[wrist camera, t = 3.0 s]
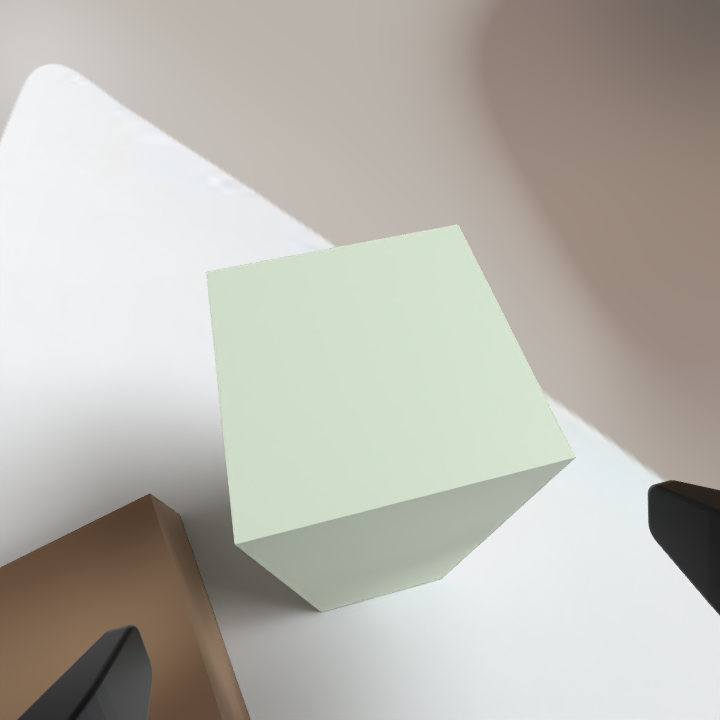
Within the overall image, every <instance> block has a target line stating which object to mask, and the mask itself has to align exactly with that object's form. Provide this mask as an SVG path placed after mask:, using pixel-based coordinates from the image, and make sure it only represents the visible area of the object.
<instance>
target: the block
mask: <svg viewBox="0 0 720 720" xmlns="http://www.w3.org/2000/svg"><path fill="white" fill-rule="evenodd" d="M206 274H207V284H208V293H209V303H210V313H211V322H212V332H213V342H214V351H215V361H216V371H217V380H218V390H219V399H220V409H221V419H222V428H223V438H224V448H225V457H226V467H227V477H228V486H229V496H230V505H231V515H232V525H233V534H234V544H235V545H236V546H237V547H238V548H240V549H241V550H242V551H243V552H245V553H246V554H247V555H249V556H250V557H251V558H252V559H254V560H255V561H256V562H257V563H259V564H260V565H261V566H263V567H264V568H265V569H266V570H268V571H269V572H270V573H272V574H273V575H274V576H275V577H277V578H278V579H279V580H281V581H282V582H283V583H284V584H286V585H287V586H288V587H289V588H291V589H292V590H293V591H295V592H296V593H297V594H298V595H300V596H301V597H302V598H304V599H305V600H306V601H307V602H309V603H310V604H311V605H313V606H314V607H315V608H316V609H318V610H319V611H320V612H325V611H328V610H332V609H335V608H339V607H342V606H346V605H350V604H353V603H357V602H360V601H364V600H368V599H371V598H375V597H378V596H382V595H386V594H389V593H393V592H396V591H400V590H404V589H407V588H411V587H414V586H418V585H422V584H425V583H429V582H432V581H436V580H440V579H442V578H443V577H444V576H445V575H447V574H448V573H449V572H450V571H451V570H452V569H453V568H454V567H455V566H456V565H458V564H459V563H460V562H461V561H462V560H463V559H464V558H465V557H466V556H467V555H469V554H470V553H471V552H472V551H473V550H474V549H475V548H476V547H477V546H478V545H480V544H481V543H482V542H483V541H484V540H485V539H486V538H487V537H488V536H490V535H491V534H492V533H493V532H494V531H495V530H496V529H497V528H498V527H499V526H501V525H502V524H503V523H504V522H505V521H506V520H507V519H508V518H509V517H510V516H512V515H513V514H514V513H515V512H516V511H517V510H518V509H519V508H520V507H521V506H523V505H524V504H525V503H526V502H527V501H528V500H529V499H530V498H531V497H532V496H534V495H535V494H536V493H537V492H538V491H539V490H540V489H541V488H542V487H544V486H545V485H546V484H547V483H548V482H549V481H550V480H551V479H552V478H553V477H555V476H556V475H557V474H558V473H559V472H560V471H561V470H562V469H563V468H564V467H566V466H567V465H568V464H569V463H570V462H571V461H572V460H573V459H574V458H575V455H574V453H573V451H572V449H571V447H570V445H569V443H568V441H567V439H566V437H565V435H564V433H563V431H562V429H561V427H560V426H559V424H558V422H557V420H556V418H555V416H554V414H553V412H552V410H551V408H550V406H549V404H548V402H547V400H546V398H545V396H544V394H543V392H542V390H541V388H540V386H539V384H538V382H537V380H536V378H535V376H534V374H533V372H532V370H531V368H530V366H529V364H528V362H527V360H526V358H525V356H524V354H523V352H522V350H521V348H520V346H519V344H518V342H517V340H516V338H515V336H514V334H513V332H512V331H511V328H510V326H509V324H508V323H507V321H506V319H505V316H504V314H503V313H502V311H501V309H500V307H499V305H498V303H497V301H496V299H495V297H494V295H493V293H492V291H491V289H490V287H489V285H488V283H487V281H486V279H485V277H484V275H483V273H482V271H481V269H480V267H479V265H478V263H477V261H476V259H475V257H474V255H473V253H472V251H471V249H470V247H469V245H468V243H467V241H466V239H465V238H464V235H463V233H462V231H461V229H460V227H459V225H452V226H447V227H442V228H436V229H431V230H426V231H420V232H415V233H410V234H405V235H400V236H394V237H389V238H384V239H378V240H373V241H368V242H362V243H357V244H351V245H346V246H341V247H335V248H330V249H325V250H319V251H314V252H309V253H303V254H298V255H293V256H288V257H282V258H277V259H272V260H266V261H261V262H256V263H250V264H245V265H240V266H234V267H229V268H224V269H218V270H213V271H208V272H206Z"/></svg>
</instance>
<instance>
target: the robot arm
mask: <svg viewBox="0 0 720 720" xmlns="http://www.w3.org/2000/svg"><path fill="white" fill-rule="evenodd" d="M648 523H649V529H650V532H651V534H652V536H653V537H654V539H655V540H656V542H657V543H658V544H659V545H660V546H661V547H662V549H663V550H664V551H665V552H666V553H667V555H668V556H669V557H670V558H671V559H672V560H673V562H674V563H675V564H676V565H677V566H678V567H679V569H680V570H681V571H682V572H683V573H684V574H685V576H686V577H687V578H688V579H689V580H690V582H691V583H692V584H693V585H694V586H695V587H696V589H697V590H698V591H699V592H700V593H701V594H702V596H703V597H704V598H705V599H706V600H707V602H708V603H709V604H710V605H711V606H712V607H713V608H714V609H715V610H716V612H717V613H718V614H719V615H720V490H716V489H711V488H707V487H702V486H697V485H693V484H689V483H684V482H679V481H675V480H669V481H665V482H662V483H658V484H654V485H652V486H651V487H650V488H649V490H648ZM152 679H153V673H152V665H151V662H150V659H149V656H148V654H147V651H146V648H145V645H144V643H143V640H142V637H141V635H140V632H139V630H138V628H137V627H136V626H135V625H132V624H130V625H126V626H122V627H118V628H115V629H111V630H108V631H107V632H105V633H104V634H103V635H102V636H101V637H100V638H99V639H98V640H97V641H96V642H95V643H94V644H93V645H92V646H91V647H90V648H89V649H88V650H87V651H86V652H85V653H84V654H83V655H82V656H81V657H80V658H79V659H78V660H77V661H76V662H75V663H74V664H73V665H71V666H70V667H69V668H68V669H67V670H66V671H65V672H64V673H63V674H62V675H61V676H60V677H59V678H58V679H57V680H56V681H55V682H54V683H53V684H52V685H51V686H50V687H49V688H48V689H47V690H46V691H45V692H44V693H43V694H42V695H41V696H40V697H39V698H38V699H37V700H36V701H35V702H34V703H33V704H32V705H31V706H30V707H29V708H28V709H27V710H26V711H25V712H24V713H23V714H22V715H21V716H20V717H19V718H18V719H17V720H147V717H148V710H149V702H150V695H151V688H152Z"/></svg>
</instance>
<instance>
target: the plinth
mask: <svg viewBox="0 0 720 720" xmlns="http://www.w3.org/2000/svg"><path fill="white" fill-rule="evenodd" d="M130 624H132V625H135V626H136V627H137V628H138V630H139V632H140V635H141V637H142V640H143V643H144V645H145V648H146V651H147V654H148V656H149V659H150V662H151V665H152V673H153V679H152V688H151V695H150V702H149V710H148V717H147V720H250V718H249V715H248V712H247V709H246V706H245V703H244V700H243V697H242V694H241V691H240V689H239V686H238V683H237V680H236V677H235V674H234V671H233V668H232V665H231V662H230V660H229V657H228V654H227V651H226V648H225V645H224V642H223V639H222V636H221V633H220V631H219V628H218V625H217V622H216V619H215V616H214V613H213V610H212V607H211V604H210V601H209V599H208V596H207V593H206V590H205V587H204V584H203V581H202V578H201V575H200V572H199V570H198V567H197V564H196V561H195V558H194V555H193V552H192V549H191V546H190V543H189V541H188V538H187V535H186V532H185V529H184V526H183V523H182V520H181V517H180V515H179V514H178V513H176V512H175V511H174V510H172V509H171V508H169V507H168V506H167V505H165V504H164V503H162V502H161V501H160V500H158V499H157V498H155V497H154V496H153V495H151V494H148V495H146V496H144V497H142V498H140V499H138V500H136V501H134V502H132V503H130V504H128V505H126V506H124V507H122V508H120V509H118V510H116V511H114V512H112V513H110V514H108V515H106V516H104V517H102V518H99V519H97V520H95V521H93V522H91V523H89V524H87V525H85V526H83V527H81V528H79V529H77V530H75V531H73V532H71V533H69V534H67V535H65V536H63V537H61V538H59V539H57V540H55V541H53V542H51V543H49V544H47V545H45V546H43V547H41V548H39V549H37V550H35V551H33V552H31V553H29V554H27V555H25V556H23V557H21V558H19V559H17V560H15V561H13V562H11V563H9V564H7V565H5V566H3V567H1V568H0V720H17V719H18V718H19V717H20V716H21V715H22V714H23V713H24V712H25V711H26V710H27V709H28V708H29V707H30V706H31V705H32V704H33V703H34V702H35V701H36V700H37V699H38V698H39V697H40V696H41V695H42V694H43V693H44V692H45V691H46V690H47V689H48V688H49V687H50V686H51V685H52V684H53V683H54V682H55V681H56V680H57V679H58V678H59V677H60V676H61V675H62V674H63V673H64V672H65V671H66V670H67V669H68V668H69V667H70V666H71V665H73V664H74V663H75V662H76V661H77V660H78V659H79V658H80V657H81V656H82V655H83V654H84V653H85V652H86V651H87V650H88V649H89V648H90V647H91V646H92V645H93V644H94V643H95V642H96V641H97V640H98V639H99V638H100V637H101V636H102V635H103V634H104V633H105V632H107V631H108V630H111V629H115V628H118V627H122V626H126V625H130Z"/></svg>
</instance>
